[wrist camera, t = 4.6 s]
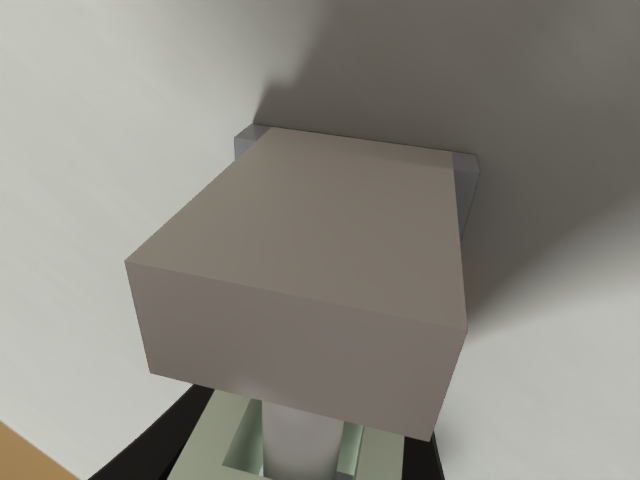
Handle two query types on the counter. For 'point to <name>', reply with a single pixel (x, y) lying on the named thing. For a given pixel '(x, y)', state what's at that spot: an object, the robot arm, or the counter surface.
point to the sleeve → (247, 445)
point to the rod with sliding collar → (314, 289)
